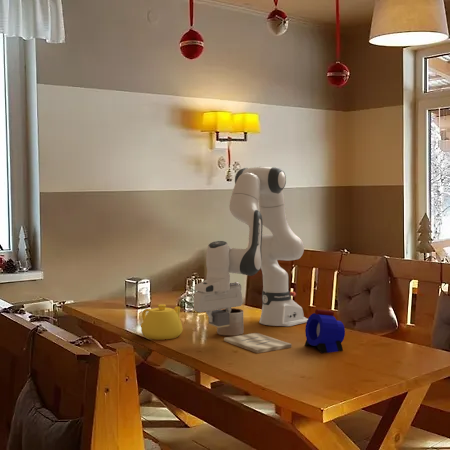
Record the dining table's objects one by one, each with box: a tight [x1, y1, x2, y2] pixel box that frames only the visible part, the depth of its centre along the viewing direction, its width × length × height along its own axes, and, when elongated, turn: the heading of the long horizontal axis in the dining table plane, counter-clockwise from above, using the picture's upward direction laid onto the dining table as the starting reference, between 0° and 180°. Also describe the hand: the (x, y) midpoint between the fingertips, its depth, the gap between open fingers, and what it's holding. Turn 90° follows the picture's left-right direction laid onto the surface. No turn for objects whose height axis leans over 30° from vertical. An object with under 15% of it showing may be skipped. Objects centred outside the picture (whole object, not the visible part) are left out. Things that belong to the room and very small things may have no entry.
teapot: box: [140, 303, 183, 341], centre depth 263 cm, size 20×19×13 cm
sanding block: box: [207, 310, 230, 328], centre depth 244 cm, size 5×7×5 cm
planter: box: [216, 307, 245, 337], centre depth 264 cm, size 11×11×10 cm
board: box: [223, 332, 293, 354], centre depth 247 cm, size 16×22×1 cm
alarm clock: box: [304, 308, 346, 354], centre depth 241 cm, size 12×12×15 cm
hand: (218, 320), depth 244 cm, fingers closed on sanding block, 5 cm apart
